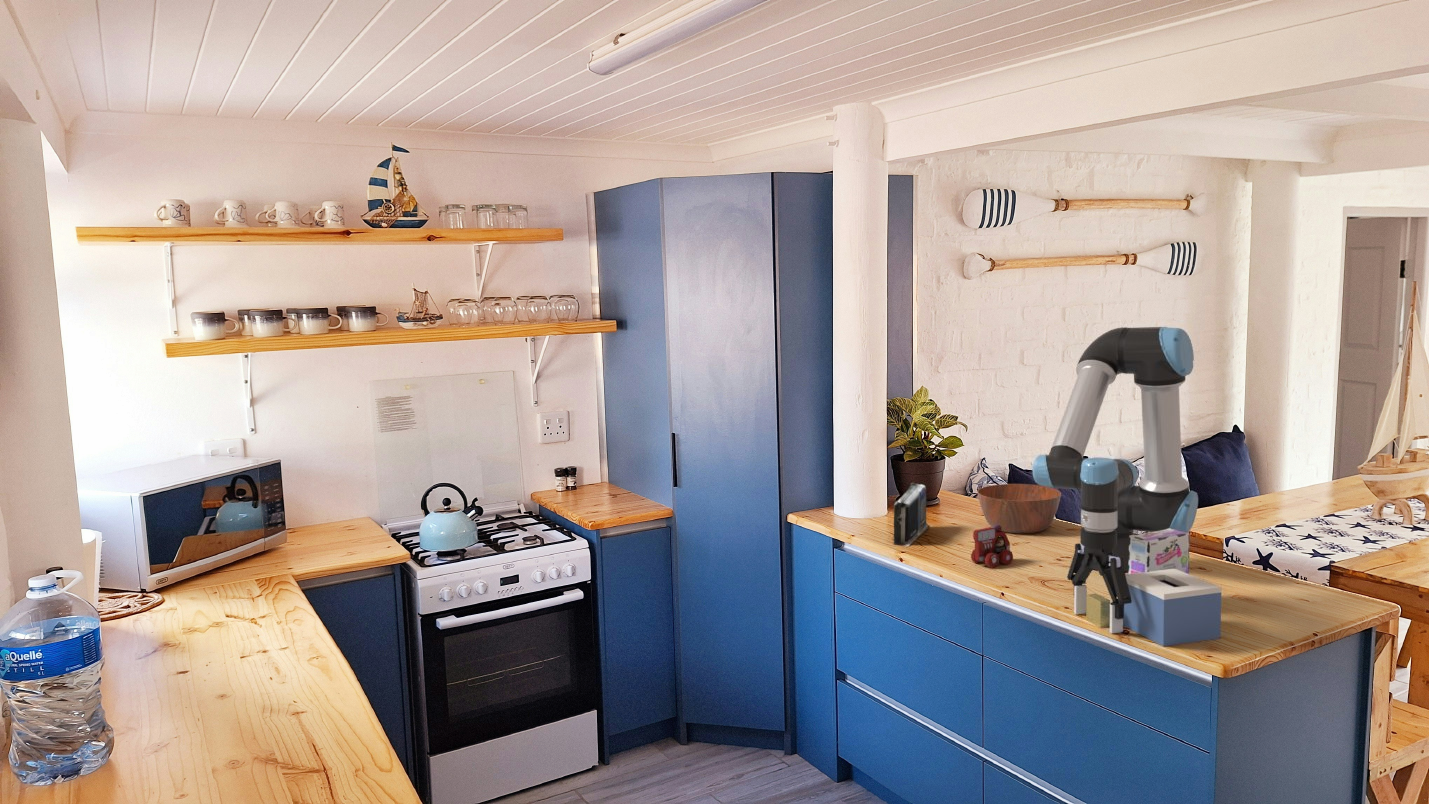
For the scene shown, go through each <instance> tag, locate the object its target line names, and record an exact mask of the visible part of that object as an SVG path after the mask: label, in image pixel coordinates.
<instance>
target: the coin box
mask: <svg viewBox="0 0 1429 804" xmlns="http://www.w3.org/2000/svg"><path fill="white" fill-rule="evenodd" d="M1125 575H1126V579H1127V583H1128V588H1129V592H1130V596H1131V600H1132V602H1131V603H1129V604H1125V605H1124V618H1123V628H1126V629H1128V630H1131V631H1132V632H1133V633H1137V634H1139V635H1140V636H1142V637H1144V638H1147V640H1150V641H1152V642H1154V643H1156V644H1158V645H1160V646H1162V647H1169V646H1174V645H1175V646H1176V645H1182V644H1188V643H1189V644H1190V643H1195V642H1196V643H1197V642H1202V641H1203V642H1204V641H1210V640H1211V641H1212V640H1216V639H1217V640H1218V639H1221V632H1222V631H1221V630H1222V629H1221V626H1222V624H1221V623H1222V622H1221V619H1222V586H1221V585H1218V584H1216V583H1213V582H1210V581H1208V580H1204V579H1202V578H1200V577H1196V576H1194V575H1192V574H1190V573H1189V574H1187V573H1185V572H1182V571H1179V570H1177V569H1167V570H1158V571H1150V572H1142V573H1134V574H1128V573H1127V574H1126V573H1125ZM1125 598H1126V597H1125Z"/></svg>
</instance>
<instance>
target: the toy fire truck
mask: <svg viewBox="0 0 1429 804" xmlns="http://www.w3.org/2000/svg"><path fill="white" fill-rule="evenodd" d="M972 534H973V535H972V537H973V540H974V541H973V542H974V549H973V550H972V552H971V554H970V558H971V561H972V562H973V563H974V564H981V563H985V565H986V567H988V568H992V569H995V568H997V566H998V564H999V562H1000V563H1001V564H1003V565H1005V566H1007V565H1010V564H1011V563H1012V562H1013V560H1014V554H1013V552H1012V551H1011V543H1010V540H1009V538H1008V536H1007V532H1004V531H1002V528H1001V526H1000V525H995V526H994V528H993V527H991V526H989V527H984V528H979V529H975V530H973V533H972Z"/></svg>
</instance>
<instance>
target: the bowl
mask: <svg viewBox="0 0 1429 804" xmlns="http://www.w3.org/2000/svg"><path fill="white" fill-rule="evenodd" d="M976 493H977V497H978V501H979V505H980V508H981V511H982V514H983V516H984V519H985V520H986V522H987V523H988V525H989V527H993V528H994V526H995V525H1000V526H1001V528H1002V531H1004V532H1005V533H1006V534H1019V535H1026V534H1027V535H1028V534H1035V533H1041V532H1043V531H1045V530H1047V529H1048V528H1049V527H1050V526H1051V524H1052V522H1053V521H1054V518H1055V516H1056V514H1057V511H1058V510H1059V509H1058V508H1059V504H1060V501H1061V497H1062V492H1061V491H1060V490H1058V489H1057V488H1052V487H1047V486H1041V485H1038V484H1028V483H1027V484H1026V483H1002V484H1001V483H1000V484H993V485H987V486H983V487H980V488H978V489H977V491H976Z"/></svg>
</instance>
